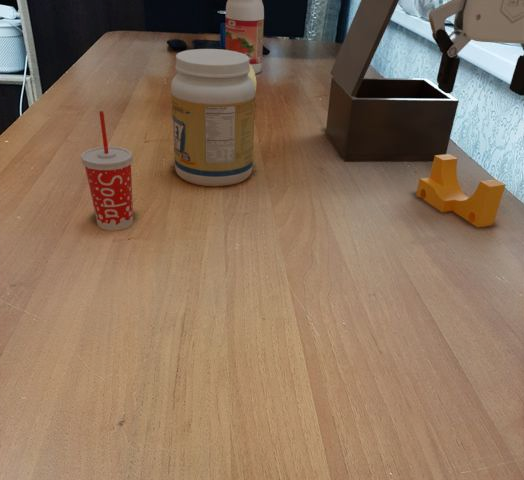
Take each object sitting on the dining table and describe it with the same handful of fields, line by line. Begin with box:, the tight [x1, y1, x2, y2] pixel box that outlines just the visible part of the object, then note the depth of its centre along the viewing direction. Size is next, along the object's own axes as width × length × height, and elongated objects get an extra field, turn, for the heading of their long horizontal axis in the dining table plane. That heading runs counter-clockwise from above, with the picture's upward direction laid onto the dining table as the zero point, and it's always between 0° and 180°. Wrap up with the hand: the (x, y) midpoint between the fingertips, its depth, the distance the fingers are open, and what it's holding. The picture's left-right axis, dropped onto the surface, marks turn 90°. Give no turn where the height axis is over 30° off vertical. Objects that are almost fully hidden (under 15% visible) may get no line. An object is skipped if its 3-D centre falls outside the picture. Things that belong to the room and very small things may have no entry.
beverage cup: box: [80, 110, 134, 232], centre depth 70 cm, size 6×6×14 cm
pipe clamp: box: [415, 153, 506, 228], centre depth 79 cm, size 12×4×6 cm, turn 22°
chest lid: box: [329, 0, 400, 97], centre depth 91 cm, size 18×15×5 cm
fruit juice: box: [225, 0, 265, 75], centre depth 139 cm, size 9×9×28 cm
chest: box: [325, 76, 460, 162], centre depth 101 cm, size 18×15×10 cm
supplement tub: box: [170, 48, 256, 187], centre depth 85 cm, size 12×12×17 cm
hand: (481, 91), depth 71 cm, fingers open, 9 cm apart
